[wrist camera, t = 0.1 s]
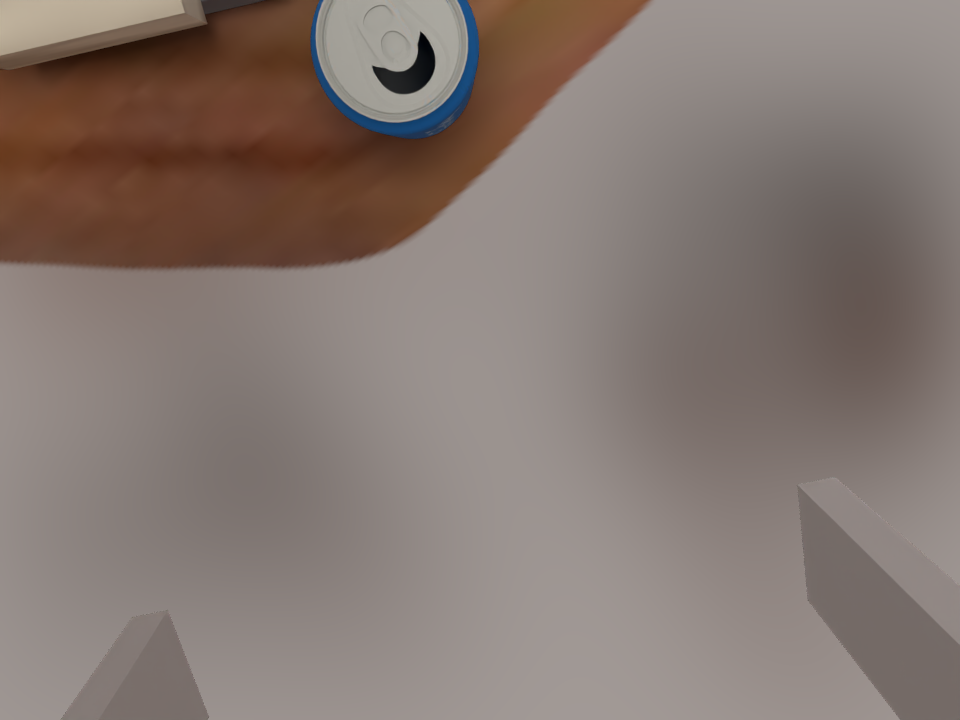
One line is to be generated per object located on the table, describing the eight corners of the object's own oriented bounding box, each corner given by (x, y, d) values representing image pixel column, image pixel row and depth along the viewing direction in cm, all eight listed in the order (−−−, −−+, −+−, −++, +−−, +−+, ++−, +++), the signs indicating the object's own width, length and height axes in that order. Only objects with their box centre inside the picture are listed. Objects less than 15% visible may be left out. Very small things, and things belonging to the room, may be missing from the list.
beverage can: (396, 162, 39) (371, 168, 28) (325, 54, 38) (267, 12, 26) (496, 94, 38) (513, 70, 27) (428, -19, 37) (415, -96, 25)
